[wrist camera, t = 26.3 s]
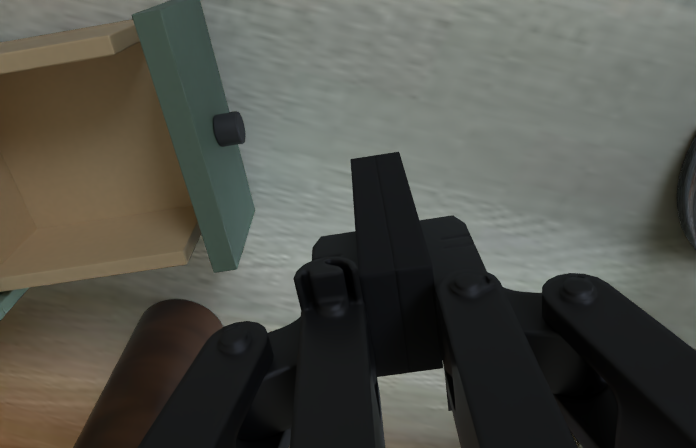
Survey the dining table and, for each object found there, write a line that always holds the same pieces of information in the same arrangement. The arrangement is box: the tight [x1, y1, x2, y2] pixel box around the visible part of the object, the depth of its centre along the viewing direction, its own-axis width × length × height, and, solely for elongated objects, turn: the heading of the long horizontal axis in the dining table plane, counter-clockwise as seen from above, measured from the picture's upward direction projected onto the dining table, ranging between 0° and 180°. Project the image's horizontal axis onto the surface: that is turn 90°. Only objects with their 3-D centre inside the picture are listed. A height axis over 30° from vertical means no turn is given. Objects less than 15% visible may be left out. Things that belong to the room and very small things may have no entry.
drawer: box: [0, 0, 255, 292], centre depth 28 cm, size 15×12×7 cm
